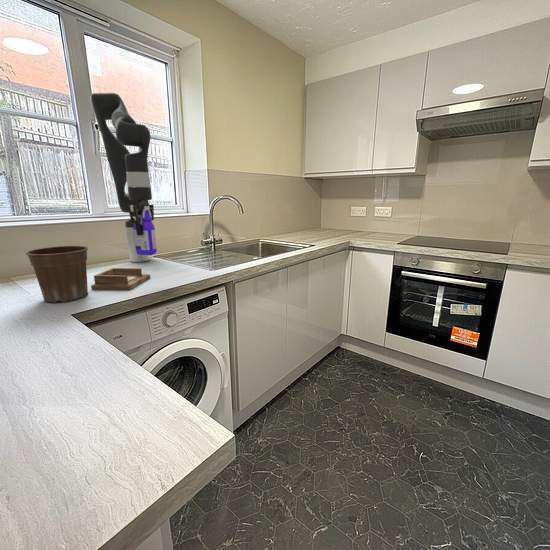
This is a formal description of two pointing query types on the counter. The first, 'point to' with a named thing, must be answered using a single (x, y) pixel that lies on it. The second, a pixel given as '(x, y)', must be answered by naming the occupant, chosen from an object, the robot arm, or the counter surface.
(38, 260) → the plant pot
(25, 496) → the counter surface
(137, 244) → the bottle
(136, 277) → the rail board
